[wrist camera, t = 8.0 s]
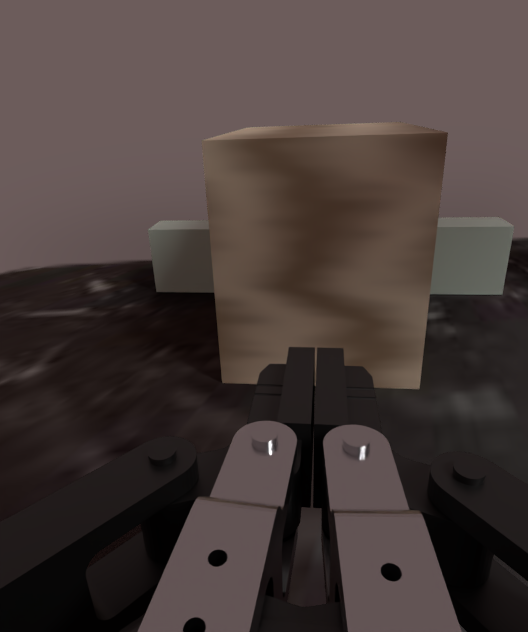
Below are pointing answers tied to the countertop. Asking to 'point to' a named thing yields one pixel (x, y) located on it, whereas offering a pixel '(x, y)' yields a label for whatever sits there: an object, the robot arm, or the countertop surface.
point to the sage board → (448, 266)
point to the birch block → (324, 244)
